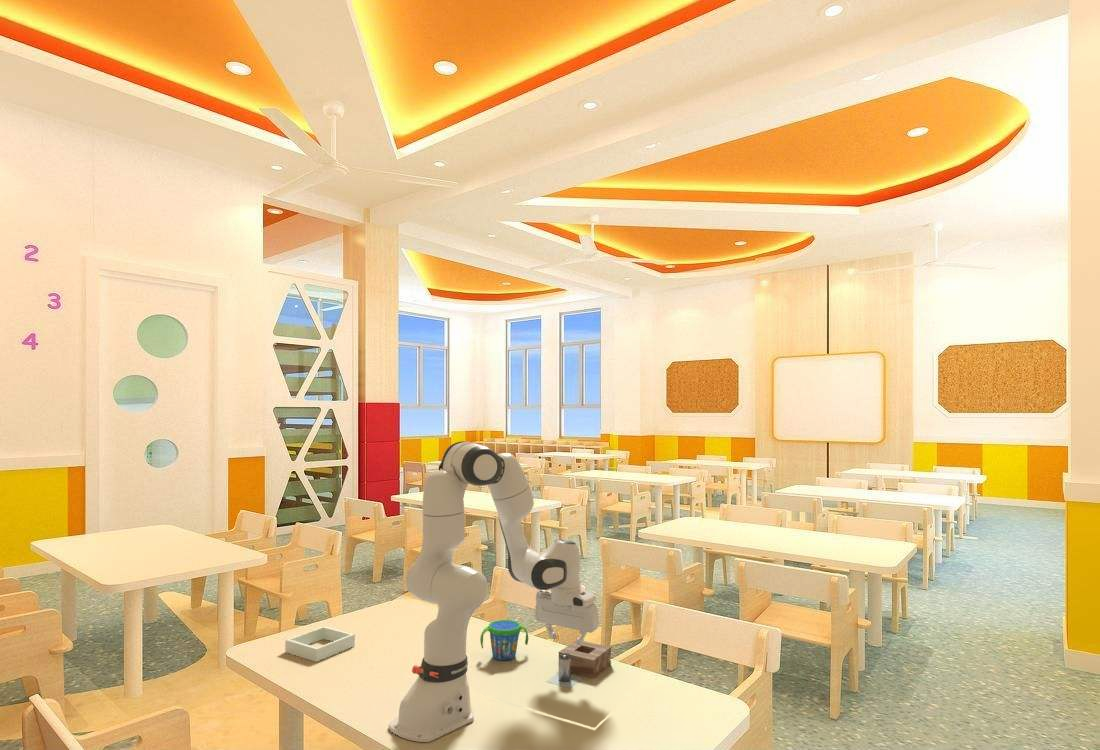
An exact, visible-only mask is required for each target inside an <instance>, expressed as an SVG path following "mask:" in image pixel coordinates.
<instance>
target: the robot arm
mask: <svg viewBox="0 0 1100 750" xmlns="http://www.w3.org/2000/svg"><path fill="white" fill-rule="evenodd" d="M468 485H473V486H476V487H483V486H487V487H488V489H489V491H490V494H491V497H492V501H493V502H494V503H493V504H494V506H495V509H496V512H497V516H498V521H499V524H500V529H501V534H502V536H503V540H504V543H505V547H506V551H507V569H508V573H509V575H510V577H511V578H512V579H513V580H514V581H516V582H519V583H523V584H525V585H527V586H529V587H532V588H534V589H536V590H539V591H537V592H536V594H535V601H536V602H535V610H534V619H535V621H536V622H537V623H542V624H545V629H546V631H547V633H548V639H550V640H555V639H556V637H557V631H554V628H553V626H556V627H561V628H565V629H570V630H577V631H579V634H580V636H578V637H577V638H576V640H577V645H581V646H582V645H583V644H584V641H585V637H586V635H588V633H590V634H591V633H594V632H596V631H597V629H599V623H600V622H599V611H598V608H597V605H596V604H595V602H596V600H597V598H596V595H595V593H592V592H591V591H588V590H587V589H585V588H583V587H582V586H581V580H580V572H581V558H580V557H581V556H580V550H579V546H578V544H577V543H576V542H574V541H572V540H569V539H564V538H556V539H553V541H552V543H551V544H550V545H549V546H548V547H546V549H544V550H543V551H541V552H538V551H535V550H534V549H533V548H531V546H530V545H529V544H528V542H527V538H526V534H525V530H524V527H523V521H522V520H523V519H525V518H526V517H527V516H529V514H530V513H531V512H532V510H533V507H534V504H535V503H534V496H533V491H532V489H531V486H530V483H529V480H528V478H527V476H526V473H525V471H524V469H523V467H522V465H521V463H520V462H519V461H518V459H517V457H516V456H515V455H513V454H512V453H510V452H501V453H497V452H496V451H494V450H493V449H491V448H490V447H487V446H485V445H481V444H479V443H477V442H473V441H472V442H471V441H457V442H454V443H452V444H450V445H449V446H448V447H446V449H445V451H444V454H443V456H442V459H441V462H440V464H439V466H438V470H436V471H434V472H431V473H430V474H429V475H427V477H426V478H425V482H424V487H423V494H422V495H423V496H422V544H421V549H420V552H419V555H418V556H417V559H416V560H415V561H414V562H413V563H412V564H411V565H410V567H409V568H408V569H407V572H406V575H405V587H406V590H407V591H408V592H409V593H410V594H411V595H413V596H414V597H416V598H417V599H418V600H421V601H424V602H427V603H431V604H433V605H434V604H435V605H437V607H438V608H437V609H438V610H437V616H436V618H435V619H433V620H432V621H430V622H429V623H428V624H427V626H426V627H425V629H424V632H423V635H424V636H423V638H424V639H423V657H422V660H421V664H420V666H419V665H418V664H414V665H413V666H412V669H411V673H412V674H416V675H418V677H417V679H416V680H415V681H414V682H413V684H412V685H411V687H410V688H409V689H408V691H407V692H406V694H405V695H404V697H403V698H402V700H401V701H400V703H399V708H398V715H397V716H396V717H395V718H394V719H392V720H391V721H390V722H389V723H388V729H390V730H389V731H390V732H391V733H392V732H393V733H392V734H393V735H395V734H396V736H397V735H398V737H400V738H402V739H406V740H409V741H412V742H417V743H418V742H419V743H429V742H432V741H434V740H436V739H438V738H441V737H442V736H445V735H447V734H449V733H451V732H453V731H455V730H457V729H459V728H461V727H464V726H465V725H467V724H470V723H472V722H473V721H474V720H475V719H474V718H475V717H474V713H473V712H472V706H471V697H470V686H469V682H468V676H467V672H468V665H469V661H468V656H467V655H468V654H467V630H468V626H469V622H470V620H471V617H472V614H473V613H474V612H475V611H476V610H477V609H479V608H480V607H481V606H482V605H483V604H484V602H485V601H486V598H487V596H488V592H489V591H488V590H489V585H488V584H489V583H488V581H487V580H488V579H487V578H486V576H485V575H484V574H483V572H480V571H478V570H477V569H475V568H472V567H470V566H468V565H462V564H457V563H454V562H453V554H454V551H455V549H457V548H458V547H459V546H460V545H462V544H463V542H464V541H465V538H466V530H465V529H466V527H465V523H466V522H465V521H466V520H465V503H464V502H465V501H464V497H465V492H466V490H467V487H468ZM549 590H550V591H549Z"/></svg>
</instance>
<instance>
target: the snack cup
mask: <svg viewBox="0 0 1100 750" xmlns="http://www.w3.org/2000/svg"><path fill="white" fill-rule="evenodd" d="M522 629H523V630H524V632H525V641H524V643H525V645H526V646H527V645H528V643H529V633H528V630H527V629H526V627H525V626H524V625H522V624H521V623H519V622H518V621H516V620H511V619H499V620H494V621H491V622H490V623H489V624H488V626H486V627H485V628H483V630H482V632H481V635H480V639H479V640H480V641H479V642H480V646H481V649H484V645H483V644H484V634H485V633H487V632H489V637H490V638H489V640H490V646H491V647H490V648H491V653H492V654H491V656H492V658H494V660H499V661H508V660H513V659H514V658H515V657H516V655H517V649H518V644H519V643H518V641H519V638H520V637H519V636H520V632H521V630H522Z"/></svg>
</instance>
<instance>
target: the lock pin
mask: <svg viewBox="0 0 1100 750" xmlns="http://www.w3.org/2000/svg"><path fill="white" fill-rule="evenodd" d="M558 673H559V681H560V682H569V681H571V675H572V673H571V655H570V654H568V653H561V654H559V653H558Z"/></svg>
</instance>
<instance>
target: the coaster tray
mask: <svg viewBox="0 0 1100 750" xmlns="http://www.w3.org/2000/svg"><path fill="white" fill-rule="evenodd" d="M355 637H356V634H354V633H351V632H347V631H345V630H344V631H343V630H340V629H336V628H333V627H330V626H325V625H324V626H320V627H317V628H315V629H312V630H310V631H306V632H304V633H301V634H298V635H295V636H292V637H289V638H287V639H285V640H284V641H285V642H284V643H285V644H284V646H285V647H284V649H285V650H284V653H287V654H289V653H290V655H293V656H295V655H296V656H295V657H298V656H299V658H301V659H302V658H303V659H305V658H306V660H308V659H309V661H311V660H312V661H311V662H314V661H316V662H315V663H317V661H318V662H320V660H321V661H323V660H326V659H328V658H330V657H332V655H333V656H335V655H337V654H340V653H342V652H344V650H345V651H347V650H349V649H348V648H350V649H352V648H355V645H356V642H355V639H356V638H355ZM325 639H326V641H328V640H330V642H328V643H326V644H323V645H320V646H318V647H316V646H313V645H312V644H314V643H317V642H320V641H322V640H325ZM332 641H333V642H332ZM311 643H312V644H311ZM351 647H352V648H351ZM346 649H347V650H346ZM341 651H342V652H341ZM339 652H340V653H339ZM334 654H335V655H334ZM329 656H330V657H329ZM327 657H328V658H327ZM322 659H323V660H322Z"/></svg>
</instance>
